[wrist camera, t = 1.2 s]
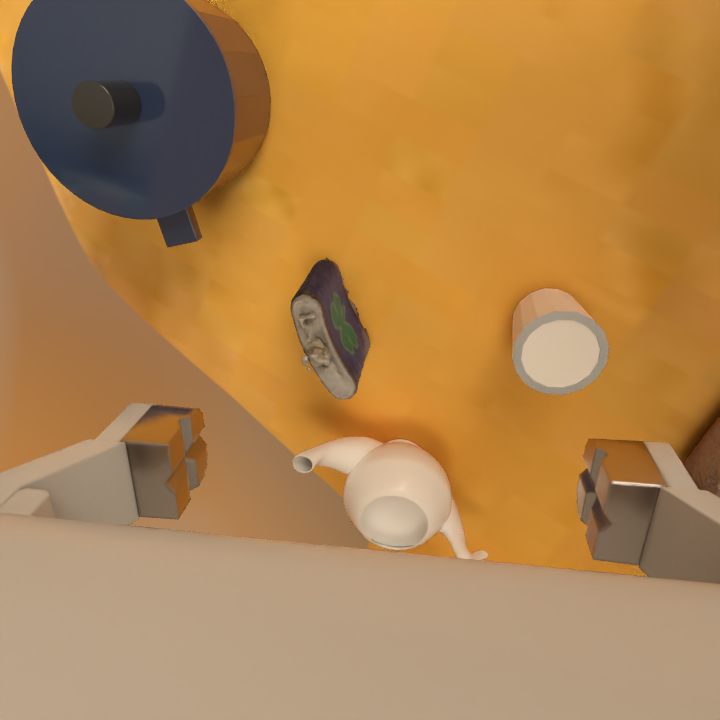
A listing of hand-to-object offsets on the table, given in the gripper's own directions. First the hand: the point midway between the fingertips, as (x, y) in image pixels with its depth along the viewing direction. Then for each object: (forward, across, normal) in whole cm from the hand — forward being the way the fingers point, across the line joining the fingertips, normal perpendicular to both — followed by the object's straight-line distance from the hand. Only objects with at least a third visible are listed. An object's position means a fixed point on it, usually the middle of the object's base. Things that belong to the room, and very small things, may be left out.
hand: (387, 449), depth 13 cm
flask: (+38, +7, +11) cm, 40 cm away
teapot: (+38, +1, +26) cm, 46 cm away
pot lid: (+28, +19, -6) cm, 35 cm away
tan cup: (+38, -10, +11) cm, 41 cm away
